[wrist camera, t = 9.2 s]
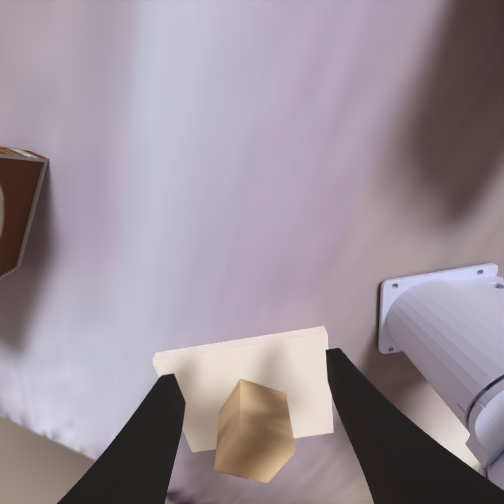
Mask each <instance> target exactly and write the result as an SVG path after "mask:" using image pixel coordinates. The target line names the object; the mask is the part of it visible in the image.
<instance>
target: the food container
mask: <svg viewBox="0 0 504 504" xmlns="http://www.w3.org/2000/svg"><path fill="white" fill-rule="evenodd" d="M48 161H49V159H47V158H45V157H42V156H40V155H38V154H35V153H33V152H31V151H26V150H20V149H14V148H8V147H2V146H0V279H2V278H3V277H5V276H7V275H9V274H10V273H12V272H14V271H16V270H17V269H19V268H20V266H21V262H22V259H23V255H24V251H25V247H26V244H27V240H28V236H29V232H30V229H31V225H32V221H33V217H34V214H35V210H36V206H37V202H38V199H39V195H40V191H41V187H42V184H43V180H44V176H45V172H46V169H47V165H48Z"/></svg>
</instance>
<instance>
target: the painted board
mask: <svg viewBox="0 0 504 504" xmlns="http://www.w3.org/2000/svg"><path fill="white" fill-rule="evenodd" d="M325 350H328V336H327V332H326V330H325V327H324V326H320V327H314V328H308V329H301V330H295V331H289V332H282V333H276V334H270V335H263V336H257V337H251V338H244V339H238V340H232V341H225V342H219V343H213V344H206V345H200V346H194V347H187V348H181V349H175V350H168V351H162V352H156V353H155V355H154V357H153V360H152V362H153V364H154V367H155V369H156V371H157V374H158V376H159V378H160V377H161V375H166V374H173V373H174V375H175V377H176V380H177V382H178V385H179V387H180V390H181V392H182V394H183V397H184V399H185V402H186V405H185V413H184V420H183V427H182V430H183V433H184V435H185V437H186V439H187V442H188V444H189V446H190V449H191V451H192V453H194V452H201V451H208V450H215V449H216V444H217V434H218V423H219V413H220V410H221V408H222V406H223V405H224V403H225V402H226V400H227V399H228V397H229V395H230V394H231V392H232V391H233V389H234V388H235V386H236V385H237V383H238V381H239V380H240V378H241V379H244V380H247V381H250V382H253V383H256V384H259V385H262V386H265V387H268V388H271V389H274V390H277V391H280V392H283V393H286V397H287V403H288V408H289V414H290V420H291V425H292V431H293V437H294V438H299V437H306V436H313V435H320V434H327V433H334V432H333V416H332V400H331V391H330V387H329V384H328V380H327V365H326V351H325Z"/></svg>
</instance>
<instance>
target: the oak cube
mask: <svg viewBox="0 0 504 504" xmlns="http://www.w3.org/2000/svg"><path fill="white" fill-rule="evenodd" d="M295 452H296V448H295V442H294V437H293V431H292V425H291V420H290V414H289V408H288V403H287V397H286V393H283V392H280V391H277V390H274V389H271V388H268V387H265V386H262V385H259V384H256V383H253V382H250V381H247V380H244V379H241V378H240V380H239V381H238V383H237V385H236V386H235V388H234V389H233V391H232V392H231V394H230V395H229V397H228V399H227V400H226V402H225V403H224V405H223V406H222V408H221V410H220V413H219V423H218V434H217V444H216V455H215V465H214V471H217V472H221V473H226V474H230V475H234V476H238V477H242V478H247V479H251V480H255V481H259V482H263V483H268V482H269V481H270V480H271V479H272V477H273V476H274V475H275V474H276V473H277V472H278V471H279V470H280V468H281V467H282V466H283V465H284V464H285V463H286V462H287V461H288V459H289V458H290V457H291V456H292V455H293V454H294V453H295Z"/></svg>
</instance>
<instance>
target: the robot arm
mask: <svg viewBox="0 0 504 504" xmlns="http://www.w3.org/2000/svg"><path fill="white" fill-rule="evenodd" d="M497 271H498V266H497V265H495V264H492V263H488V264H482V265H476V266H470V267H464V268H458V269H452V270H445V271H439V272H433V273H427V274H421V275H415V276H409V277H402V278H396V279H390V280H386V281H384V282H383V283H382V284H381V295H380V319H379V343H378V349H379V351H380V352H381V353H382V354H388V353H395V352H401V351H403V352H404V353H405V354H406V355H407V357H408V358H409V359H410V360H411V362H412V363H413V364H414V365H415V366H416V368H417V369H418V370H419V371H420V373H421V374H422V375H423V376H424V377H425V379H426V380H427V381H428V382H429V384H430V385H431V386H432V387H433V388H434V390H435V391H436V392H437V393H438V395H439V396H440V397H441V398H442V399H443V401H444V402H445V403H446V404H447V406H448V407H449V408H450V409H451V411H452V412H453V413H454V414H455V415H456V417H457V418H458V419H459V420H460V422H461V423H462V424H463V425H464V426H465V428H466V429H467V430H468V431H469V433H470V437H469V439H468V440H467V442H466V445H467V447H468V448H469V449H470V451H471V452H472V453H473V455H474V456H475V457H476V458H477V460H478V461H479V462H480V464H481V465H480V467H479V469H478V472H477V471H475V470H474V469H473V468H471V467H470V466H469V465H467V464H466V463H464V462H463V461H462V460H460V459H459V458H458V457H456V456H455V455H454V454H452V453H451V452H450V451H448V450H447V449H446V448H444V447H443V446H442V445H440V444H439V443H438V442H436V441H435V440H434V439H433V438H431V437H430V436H429V435H428V434H426V433H425V432H424V431H423V430H422V429H420V428H419V427H418V426H417V425H416V424H414V423H413V422H412V421H411V420H410V419H409V418H407V417H406V416H405V415H404V414H403V413H402V412H401V411H400V410H398V409H397V408H396V407H395V406H394V405H393V404H392V403H391V402H390V401H389V400H388V399H387V398H386V397H385V396H383V395H382V394H381V393H380V392H379V391H378V390H377V389H376V388H375V387H374V386H373V385H372V384H371V383H370V382H369V380H368V379H367V378H366V377H365V376H364V375H363V374H362V373H361V372H360V371H359V370H358V369H357V368H356V367H355V365H354V364H353V363H352V362H351V361H350V360H349V359H348V357H347V356H346V355H345V354H344V353H343V351H342V350H341V349H340V348H335V349H328V350H325V351H326V365H327V380H328V384H329V387H330V391H331V394H332V397H333V400H334V403H335V406H336V408H337V411H338V413H339V416H340V418H341V420H342V423H343V425H344V427H345V430H346V432H347V434H348V437H349V439H350V441H351V444H352V446H353V448H354V451H355V453H356V455H357V458H358V460H359V463H360V465H361V468H362V470H363V473H364V475H365V478H366V481H367V484H368V487H369V489H370V492H371V495H372V498H373V501H374V504H504V279H502V278H500V277H498V276H496V275H497ZM393 284H395V285H394V286H392V285H393ZM185 405H186V402H185V399H184V397H183V394H182V392H181V390H180V387H179V385H178V382H177V380H176V377H175V375H174V373H173V374H166V375H161V377H160V378H159V379H158V381H157V382H156V383H155V385H154V386H153V388H152V389H151V390H150V392H149V393H148V395H147V396H146V397H145V399H144V400H143V402H142V403H141V404H140V406H139V407H138V409H137V410H136V411H135V413H134V414H133V415H132V417H131V418H130V419H129V421H128V422H127V423H126V425H125V426H124V427H123V429H122V430H121V431H120V432H119V434H118V435H117V436H116V438H115V439H114V440H113V441H112V443H111V444H110V445H109V446H108V448H107V449H106V450H105V451H104V453H103V454H102V455H101V456H100V457H99V458H98V460H97V461H96V462H95V463H94V464H93V466H92V467H91V468H90V469H89V470H88V471H87V472H86V474H85V475H84V476H83V477H82V478H81V479H80V480H79V481H78V482H77V483H76V484H75V485H74V487H73V488H72V489H71V490H70V491H69V492H68V493H67V494H66V495H65V496H64V497H63V498H62V499H61V500H60V501H59V502H58V503H57V504H164V503H165V499H166V494H167V489H168V485H169V481H170V477H171V473H172V469H173V465H174V461H175V457H176V453H177V449H178V444H179V440H180V436H181V432H182V427H183V420H184V413H185Z"/></svg>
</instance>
